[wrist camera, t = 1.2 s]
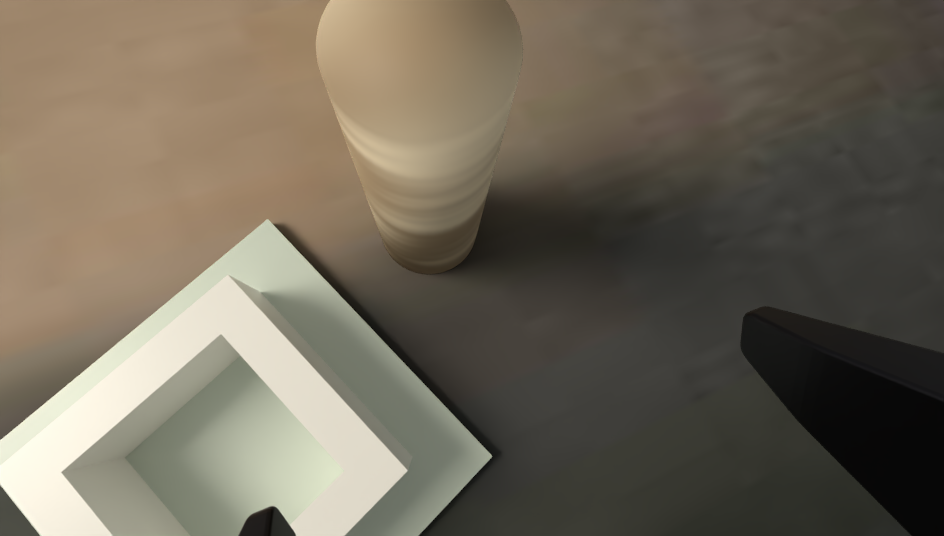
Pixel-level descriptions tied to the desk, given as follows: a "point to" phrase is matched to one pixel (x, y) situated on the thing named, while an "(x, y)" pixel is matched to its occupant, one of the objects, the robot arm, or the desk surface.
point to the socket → (242, 418)
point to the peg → (422, 114)
